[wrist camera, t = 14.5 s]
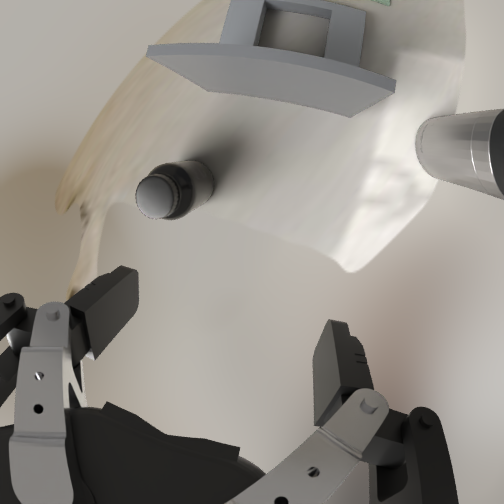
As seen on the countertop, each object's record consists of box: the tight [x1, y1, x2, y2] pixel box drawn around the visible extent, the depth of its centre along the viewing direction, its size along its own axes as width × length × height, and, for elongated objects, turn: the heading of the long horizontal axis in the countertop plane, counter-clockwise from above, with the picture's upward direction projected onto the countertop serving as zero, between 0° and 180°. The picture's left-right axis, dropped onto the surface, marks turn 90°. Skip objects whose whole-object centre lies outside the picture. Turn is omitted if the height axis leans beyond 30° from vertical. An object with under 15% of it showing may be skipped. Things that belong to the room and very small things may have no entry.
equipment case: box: [146, 0, 396, 118], centre depth 20 cm, size 18×17×19 cm
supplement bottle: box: [136, 161, 214, 220], centre depth 32 cm, size 7×7×12 cm
